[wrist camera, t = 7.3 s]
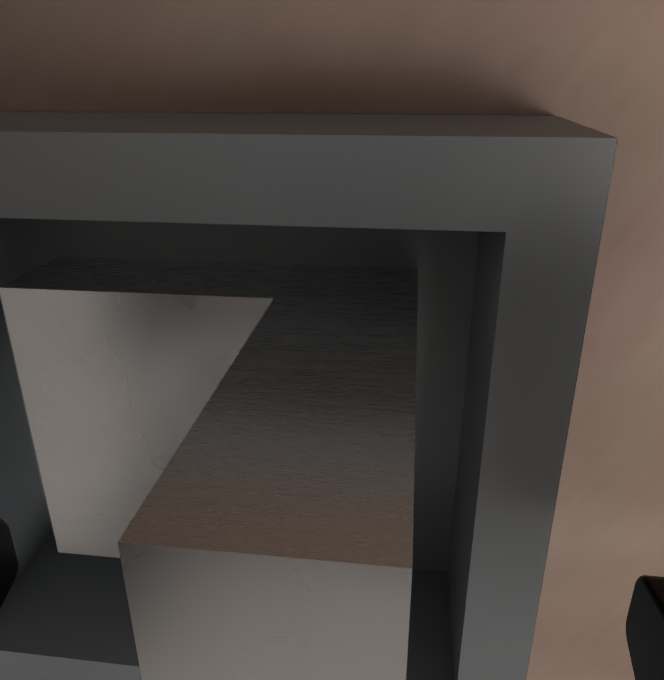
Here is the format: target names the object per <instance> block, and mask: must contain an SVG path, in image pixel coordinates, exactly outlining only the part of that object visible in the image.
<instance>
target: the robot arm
mask: <svg viewBox="0 0 664 680" xmlns="http://www.w3.org/2000/svg"><path fill="white" fill-rule="evenodd" d="M18 568H19V560H18V555H17V552H16V548H15V544H14V540H13V536H12V532H11V528H10V525H9V523H8V522H7V521H6V520H4V519H2V518H0V609H1V607H2V605H3V603H4V601H5V599H6V597H7V595H8V593H9V591H10V589H11V587H12V585H13V583H14V581H15V579H16V576H17V573H18ZM626 637H627V643H628V647H629V652H630V657H631V662H632V666H633V671H634V676H635V680H664V577H658V576H647V575H643V576H640V577H639V578H638V579H637V581H636V583H635V587H634V591H633V595H632V599H631V603H630V607H629V612H628V616H627V620H626Z"/></svg>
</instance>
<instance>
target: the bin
mask: <svg viewBox="0 0 664 680" xmlns="http://www.w3.org/2000/svg"><path fill="white" fill-rule="evenodd" d="M617 139H618V138H616V137H613V136H611V135H608V134H605V133H602V132H600V131H597V130H594V129H591V128H588V127H586V126H583V125H580V124H577V123H575V122H572V121H569V120H566V119H563V118H561V117H558V116H555V115H420V114H268V113H115V112H0V287H1V286H3V285H5V284H6V283H8V282H10V281H12V280H14V279H16V278H18V277H20V276H22V275H24V274H26V273H28V272H30V271H31V270H33V269H35V268H37V267H39V266H41V265H43V264H45V263H47V262H49V261H51V260H53V259H55V258H56V257H75V258H106V259H137V260H168V261H199V262H230V263H261V264H292V265H323V266H354V267H384V268H415V269H418V301H417V354H416V406H415V459H414V511H413V563H412V584H411V601H410V619H409V636H408V653H407V670H406V680H526V676H527V670H528V664H529V658H530V652H531V647H532V641H533V635H534V629H535V623H536V617H537V611H538V605H539V599H540V593H541V588H542V582H543V576H544V570H545V564H546V558H547V552H548V546H549V540H550V534H551V529H552V523H553V517H554V511H555V505H556V499H557V493H558V487H559V481H560V475H561V470H562V464H563V458H564V452H565V446H566V440H567V434H568V428H569V422H570V416H571V411H572V405H573V399H574V393H575V387H576V381H577V375H578V369H579V363H580V357H581V352H582V346H583V340H584V334H585V328H586V322H587V316H588V310H589V304H590V298H591V293H592V287H593V281H594V275H595V269H596V263H597V257H598V251H599V245H600V239H601V233H602V228H603V222H604V216H605V210H606V204H607V198H608V192H609V186H610V180H611V174H612V169H613V163H614V157H615V151H616V145H617ZM0 518H2V519H4V520H6V521H7V522H8V523H9V525H10V528H11V532H12V536H13V540H14V544H15V548H16V552H17V555H18V560H19V568H18V573H17V576H16V579H15V581H14V583H13V585H12V587H11V589H10V591H9V593H8V595H7V597H6V599H5V601H4V603H3V605H2V607H1V609H0V680H142V678H141V672H140V667H139V661H138V655H137V650H136V644H135V638H134V633H133V627H132V621H131V616H130V610H129V604H128V599H127V593H126V587H125V582H124V576H123V570H122V565H121V559H120V558H115V557H104V556H93V555H82V554H72V553H61V552H58V549H57V545H56V540H55V536H54V531H53V527H52V522H51V518H50V514H49V509H48V505H47V500H46V496H45V491H44V487H43V483H42V478H41V474H40V469H39V465H38V460H37V456H36V451H35V447H34V443H33V438H32V434H31V429H30V425H29V420H28V416H27V412H26V407H25V403H24V398H23V394H22V389H21V385H20V381H19V376H18V372H17V367H16V363H15V358H14V354H13V349H12V345H11V341H10V336H9V332H8V327H7V323H6V318H5V314H4V310H3V305H2V301H1V296H0Z"/></svg>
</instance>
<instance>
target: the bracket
mask: <svg viewBox="0 0 664 680" xmlns="http://www.w3.org/2000/svg"><path fill="white" fill-rule="evenodd" d="M0 296H1V301H2V305H3V310H4V314H5V318H6V323H7V327H8V332H9V336H10V341H11V345H12V349H13V354H14V358H15V363H16V367H17V372H18V376H19V381H20V385H21V389H22V394H23V398H24V403H25V407H26V412H27V416H28V420H29V425H30V429H31V434H32V438H33V443H34V447H35V451H36V456H37V460H38V465H39V469H40V474H41V478H42V483H43V487H44V491H45V496H46V500H47V505H48V509H49V514H50V518H51V522H52V527H53V531H54V536H55V540H56V545H57V549H58V552H61V553H72V554H82V555H93V556H104V557H115V558H120V559H121V565H122V570H123V576H124V582H125V587H126V593H127V599H128V604H129V610H130V616H131V621H132V627H133V633H134V638H135V644H136V650H137V655H138V661H139V667H140V672H141V678H142V680H406V670H407V653H408V636H409V619H410V601H411V584H412V563H413V511H414V459H415V406H416V354H417V301H418V269H415V268H384V267H354V266H323V265H292V264H261V263H230V262H199V261H168V260H137V259H106V258H75V257H56V258H55V259H53V260H51V261H49V262H47V263H45V264H43V265H41V266H39V267H37V268H35V269H33V270H31V271H30V272H28V273H26V274H24V275H22V276H20V277H18V278H16V279H14V280H12V281H10V282H8V283H6V284H5V285H3V286H1V287H0Z"/></svg>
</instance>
